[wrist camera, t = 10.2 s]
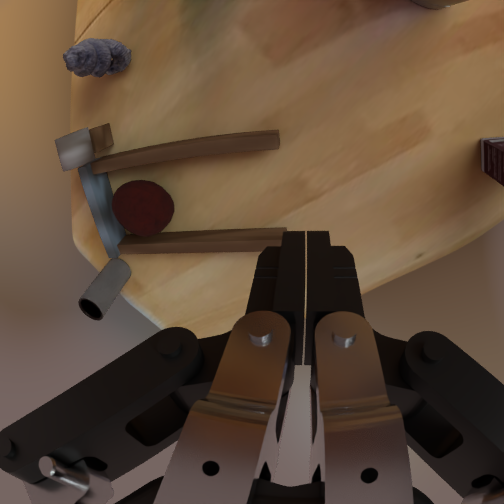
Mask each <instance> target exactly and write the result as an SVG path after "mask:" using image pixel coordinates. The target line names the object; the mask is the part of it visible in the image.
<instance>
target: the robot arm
mask: <svg viewBox="0 0 504 504" xmlns="http://www.w3.org/2000/svg"><path fill="white" fill-rule="evenodd" d="M411 1H413V2H415V3H417V4H419V5H421V6H423V7H426V8H431V9H442V8H445V7H449V6H451V5H454V4H457V3H461V2H464V1H468V0H411ZM304 309H305V231H283V235H282V243H281V246H267V247H266V248H265V249H264V250H263V252H262V253H261V254H260V255H259V257H258V261H257V266H256V270H255V274H254V279H253V283H252V287H251V292H250V296H249V300H248V305H247V309H246V313H245V315H244V316H243V317H241V318H240V319H239V320H238V321H237V322H236V323H235V324H234V326H233V328H232V330H231V331H229V332H227V333H224V334H221V335H217V336H212V337H207V338H202V339H197V337H196V336H195V334H194V333H193V332H191V331H190V330H188V329H186V328H182V327H171V328H167V329H164V330H161V331H159V332H158V333H156V334H154V335H153V336H151V337H150V338H148V339H147V340H145V341H144V342H142V343H141V344H139V345H137V346H136V347H134V348H133V349H131V350H130V351H128V352H127V353H125V354H124V355H122V356H120V357H119V358H117V359H116V360H114V361H112V362H111V363H109V364H108V365H106V366H105V367H103V368H102V369H100V370H98V371H97V372H95V373H94V374H92V375H90V376H89V377H87V378H86V379H84V380H82V381H81V382H79V383H78V384H76V385H74V386H73V387H71V388H70V389H68V390H67V391H65V392H63V393H62V394H60V395H58V396H57V397H55V398H54V399H52V400H50V401H49V402H47V403H45V404H44V405H42V406H41V407H39V408H38V409H36V410H34V411H32V412H31V413H29V414H27V415H26V416H24V417H23V418H21V419H20V420H18V421H16V422H14V423H13V424H11V425H10V426H8V427H6V428H4V429H3V430H2V431H1V432H0V468H1V469H2V470H4V471H5V472H7V473H9V474H11V475H13V476H15V477H17V478H19V479H21V480H22V481H23V482H24V485H25V487H26V490H27V493H28V495H29V498H30V500H31V503H32V504H105V503H106V502H107V501H108V500H109V499H111V498H112V497H113V495H114V490H113V488H112V487H111V481H113V480H115V479H117V478H119V477H120V476H122V475H124V474H125V473H127V472H129V471H130V470H132V469H134V468H135V467H137V466H139V465H140V464H142V463H144V462H145V461H147V460H148V459H150V458H152V457H153V456H155V455H156V454H158V453H159V452H161V451H162V450H163V449H165V448H167V447H168V446H170V445H171V444H173V443H174V442H175V441H177V440H178V442H177V445H176V447H175V450H174V452H173V455H172V457H171V460H170V463H169V465H168V467H167V470H166V472H165V475H164V476H162V477H159V478H157V479H155V480H153V481H150V482H149V483H147V484H146V485H144V486H142V487H141V488H139V489H138V490H136V491H134V492H133V493H131V494H130V495H128V496H126V497H125V498H123V499H121V500H120V501H118V502H116V503H115V504H434V503H433V502H432V501H431V500H430V499H429V498H428V497H427V496H426V495H425V494H424V493H422V492H421V491H420V490H418V489H417V488H415V487H413V486H412V479H411V470H410V462H409V454H408V447H407V445H408V446H409V447H410V448H411V449H413V450H414V451H415V452H416V453H417V454H418V455H419V456H420V457H421V458H422V459H423V460H424V461H425V462H426V463H427V464H428V465H429V466H430V467H431V468H432V469H433V470H434V471H435V472H436V473H437V474H438V475H439V476H440V477H441V478H442V479H443V480H444V481H446V482H447V483H448V484H449V485H450V486H451V487H452V488H453V489H454V490H456V492H457V493H458V494H459V495H460V496H462V498H464V499H463V501H462V503H461V504H504V385H503V384H502V383H501V382H500V381H499V380H498V379H496V378H495V377H494V376H493V375H492V374H491V373H489V372H488V371H487V370H486V369H485V368H483V367H482V366H481V365H480V364H478V363H477V362H476V361H475V360H474V359H473V358H471V357H470V356H469V355H468V354H467V353H465V352H464V351H463V350H462V349H460V348H459V347H458V346H457V345H455V344H454V343H453V342H452V341H450V340H449V339H448V338H447V337H445V336H444V335H442V334H440V333H437V332H433V331H423V332H420V333H417V334H415V335H414V336H412V337H411V338H410V339H409V341H408V342H407V341H402V340H398V339H393V338H390V337H386V336H384V335H381V334H379V333H378V332H376V331H375V330H374V329H372V327H371V325H370V324H369V322H368V321H367V320H366V319H365V317H364V311H363V306H362V299H361V294H360V288H359V283H358V278H357V272H356V269H355V262H354V258H353V255H352V254H351V253H350V251H349V250H348V249H347V248H346V247H345V246H331V244H330V236H329V231H307V307H306V338H305V360H304V365H311V380H310V417H311V419H310V420H311V452H310V470H309V472H310V473H309V475H310V476H309V484H304V485H299V486H293V487H287V486H283V485H279V484H276V483H273V480H274V476H275V472H276V467H277V462H278V456H279V448H280V442H281V438H282V433H283V428H284V423H285V419H286V414H287V409H288V403H289V398H290V393H291V386H292V384H293V380H294V369H295V365H302V355H303V335H304Z"/></svg>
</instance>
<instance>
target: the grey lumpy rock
mask: <svg viewBox="0 0 504 504" xmlns="http://www.w3.org/2000/svg"><path fill="white" fill-rule="evenodd" d="M63 58H64V61H65V62H66V67H67V69H68V70H69V71H74V74H75V75H77V76H79V77H84V76H88V75H90V74H91V75H93V76H95V77H102V76H103V75H104V74H105V73H106V74H107V75H112V74H114V73H118V72H119V71H121V72H122V71H123V70H125V68H126V67H127V66H128V64H129V63H130V61H131V50H130V49H127V47H126V46H124V45H122V43H121V42H118V41H116V40H112V39H110V40H109V39H94V38H89V39H86V40H83V41H82V42H80V43H79V44H77V45H75V46H72V47H71V48H70V49H69V50H67V51H66V52H65V53H64V54H63ZM111 58H112V59H113V60H111Z"/></svg>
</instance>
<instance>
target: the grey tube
mask: <svg viewBox="0 0 504 504" xmlns="http://www.w3.org/2000/svg"><path fill="white" fill-rule="evenodd" d="M130 276H131V270H130V268H129V266H128V265H127V264H126V263H125V262H124V261H123V260H121V259H118V258H113V259H111V260H110V261H109V262H108V263H107V265H106V266H105V267H104V268H103V269H102V271H101V272H100V273H99V274H98V276H97V277H96V278H95V280H94V281H93V282H92V283H91V285H90V286H89V288H88V289H87V290H86V291H85V293H84V294H83V295H82V297H81V298H80V299H79V307H80V308H81V310H82V311H83V313H84V314H85V315H87V316H88V317H90V318H91V319H94V320H101V319H102V318H103V317H104V315H105V314H106V312H107V311H108V309H109V308H110V306H111V304H112V303H113V301H114V300H115V298H116V297H117V295H118V294H119V292H120V291H121V289H122V288H123V286H124V285H125V283H126V282H127V281H128V279H129V277H130Z"/></svg>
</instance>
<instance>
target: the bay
mask: <svg viewBox="0 0 504 504" xmlns="http://www.w3.org/2000/svg"><path fill="white" fill-rule="evenodd" d="M55 143H56V147H57V151H58V155H59V159H60V162H61V166H62V169H63V171H68V170H71V169H74V168H77V167H79V166H81V165H83V166H81V167H79V168H78V172H79V175H80V179H81V182H82V185H83V188H84V191H85V195H86V198H87V201H88V204H89V207H90V209H91V212H92V215H93V218H94V221H95V224H96V226H97V229H98V232H99V234H100V237H101V239H102V242H103V244H104V247H105V249H106V252H107V254H108V257H109V258H118V257H119V255H120V254H157V253H205V252H254V251H263V250H264V249H265V248H266V247H267V246H281V243H282V235H283V231H287V229H286V228H255V229H227V230H203V231H182V232H162V233H157V234H154V235H152V236H150V237H143V236H138V235H136V234H127V235H126V233H125V230H124V227H123V226H122V225H121V224H120V223H119V221H118V220H117V219H116V217H115V215H114V213H113V210H112V199H113V193H112V189H111V186H110V182H109V179H108V175H107V172H108V171H113V170H118V169H123V168H128V167H133V166H139V165H144V164H150V163H156V162H162V161H169V160H176V159H183V158H190V157H198V156H206V155H215V154H224V153H234V152H246V151H259V150H274V149H279V145H280V138H279V130H269V131H256V132H244V133H234V134H225V135H217V136H209V137H202V138H195V139H188V140H182V141H175V142H170V143H164V144H159V145H153V146H148V147H143V148H138V149H134V150H129V151H125V152H120V153H116V154H112V155H108V156H104V157H100V158H96V159H95V154H94V153H96V152H99V151H101V150H102V149H104V148H106V147H108V146H111V145H113V144H114V142H113V138H112V134H111V129H110V125H109V123H108V124H105V125H102V126H99V127H96V128H93V129H90V130H89V129H88V127H87V128H84V129H81V130H78V131H76V132H73V133H71V134H68V135H66V136H63V137H61V138H59V139H56V140H55Z"/></svg>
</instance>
